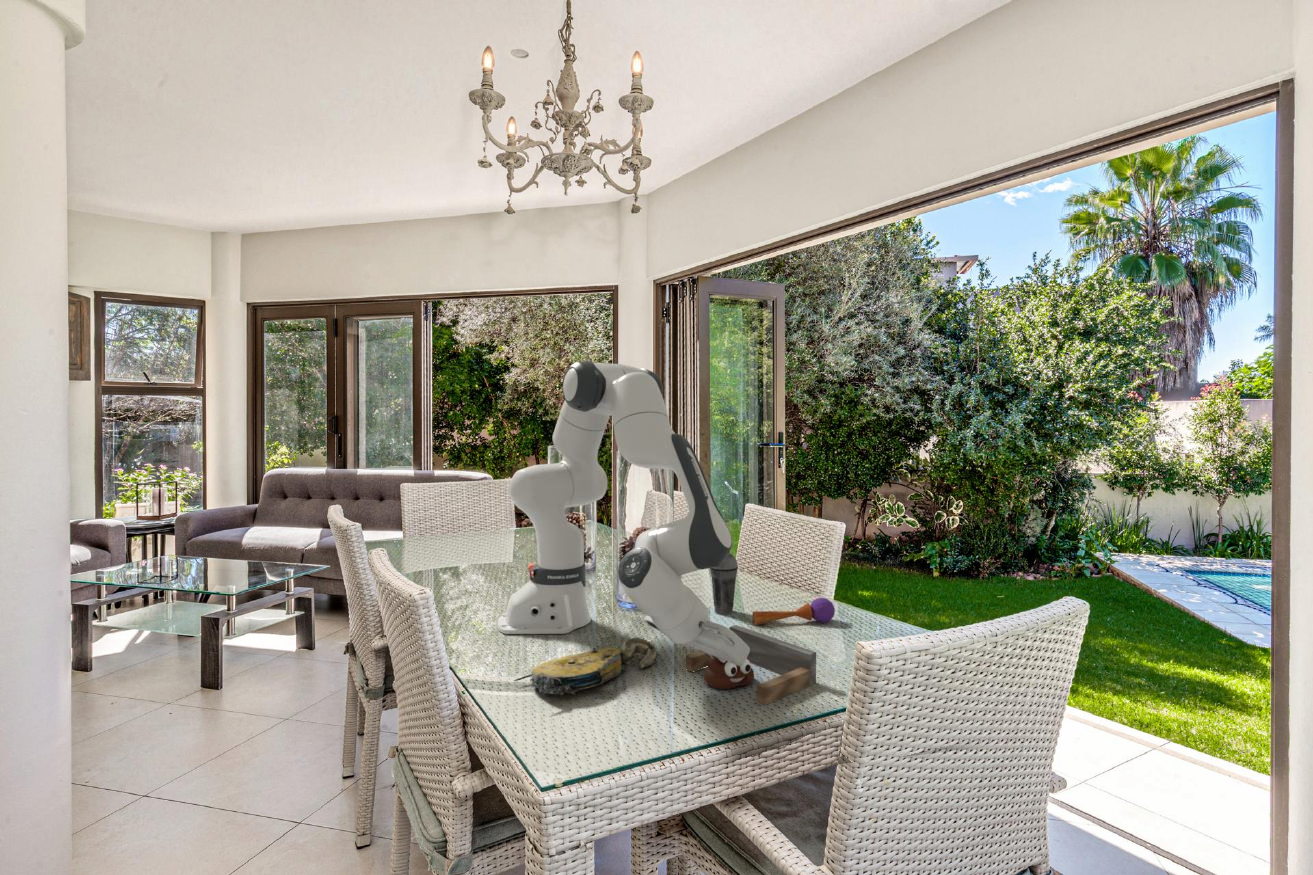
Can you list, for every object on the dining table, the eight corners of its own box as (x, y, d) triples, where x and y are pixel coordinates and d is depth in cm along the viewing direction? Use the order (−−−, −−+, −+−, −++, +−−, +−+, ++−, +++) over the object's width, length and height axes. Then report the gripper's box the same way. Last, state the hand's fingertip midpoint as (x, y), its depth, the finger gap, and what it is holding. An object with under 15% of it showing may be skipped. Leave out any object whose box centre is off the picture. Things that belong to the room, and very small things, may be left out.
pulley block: (676, 637, 140) (544, 675, 121) (679, 666, 139) (547, 709, 121) (635, 630, 151) (509, 663, 133) (638, 657, 151) (512, 694, 132)
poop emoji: (740, 669, 139) (740, 624, 139) (763, 685, 131) (763, 637, 131) (696, 678, 135) (696, 631, 135) (717, 695, 127) (717, 645, 127)
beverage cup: (743, 612, 176) (744, 535, 174) (721, 618, 172) (721, 538, 170) (725, 605, 182) (725, 530, 180) (703, 610, 178) (703, 533, 176)
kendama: (749, 604, 170) (827, 595, 173) (752, 629, 170) (831, 619, 172) (755, 607, 164) (836, 597, 167) (758, 632, 164) (839, 622, 166)
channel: (765, 705, 123) (765, 672, 123) (685, 669, 139) (685, 640, 139) (815, 682, 133) (816, 652, 132) (735, 652, 149) (735, 624, 148)
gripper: (733, 616, 117) (771, 658, 124) (656, 590, 133) (693, 629, 140) (714, 648, 114) (754, 689, 121) (637, 618, 130) (676, 656, 137)
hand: (721, 657), depth 131 cm, fingers closed
